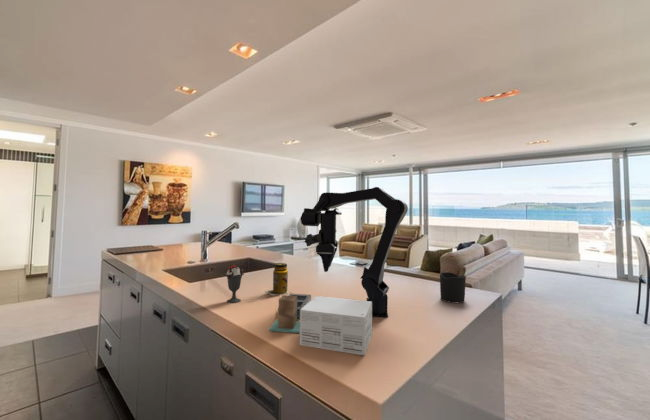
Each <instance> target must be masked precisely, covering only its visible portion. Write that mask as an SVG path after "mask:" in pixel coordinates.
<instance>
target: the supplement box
mask: <svg viewBox="0 0 650 420" xmlns="http://www.w3.org/2000/svg"><path fill="white" fill-rule="evenodd" d="M299 321H300V333H299V343H298V345H300V346H302V347H303V346H304V347H309V348H310V347H311V348H316V349H322V350H327V351H335V352H338V353H339V352H340V353H347V354H353V355H359V356H366V352H367V350H368V347H369V344H370V341H371V338H372V335H373V316H372V301H366V300H362V299H360V300H357V299H349V298H339V297H330V296H329V297H328V296H321V295H316V296H314V297H313V298H311V301H310V302H309V303H308V304H306V305H305V306H304V307H303V308H302V309H301V310H300V319H299Z"/></svg>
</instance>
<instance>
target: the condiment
mask: <svg viewBox="0 0 650 420" xmlns="http://www.w3.org/2000/svg"><path fill="white" fill-rule="evenodd" d="M273 268H274V270H273V273H272V275H273V277H272V282H273V283H272V286H273V287H272V290H265V292H266V293H267V294H269V295H270V296H272V297H274V296H278V295H282V296H283V295H287V294H289V295H290V294H291V291H288V277H289V275H288V274H289V272H288V263H286V262H284V263H283V262H278V263H275V264H274V266H273Z"/></svg>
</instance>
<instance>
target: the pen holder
mask: <svg viewBox="0 0 650 420" xmlns="http://www.w3.org/2000/svg"><path fill="white" fill-rule="evenodd" d="M466 279H467V277H466V275H458V274H456V273H454V272H447V271H446V272H440V273H439V287H440V288H439V289H440V299H441V300H442V299H443V300H442V301H444V300H446V301H445V302H447V301H450V302H449V303H452V302H462V303H464V302H465V298H466V297H465V296H466V281H467V280H466ZM463 301H464V302H463Z"/></svg>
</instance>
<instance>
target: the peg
mask: <svg viewBox="0 0 650 420" xmlns="http://www.w3.org/2000/svg"><path fill="white" fill-rule="evenodd" d="M278 307H279V313H278V312H277V317H278V319H277V320H278V328H287V329H293V328H294V327H295V325H296V323H297V321H298V318H297V296H289V295H287V294H282V296H281V297H280V298H279V299H278Z"/></svg>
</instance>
